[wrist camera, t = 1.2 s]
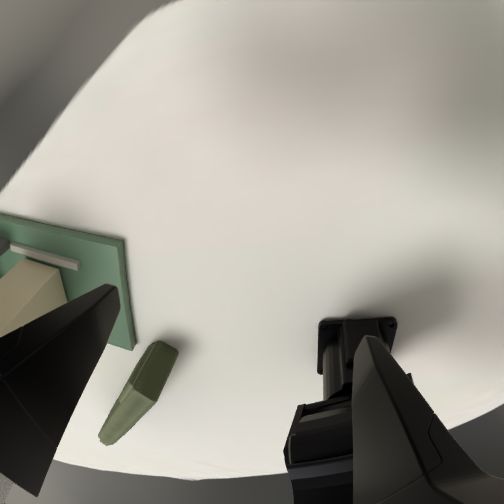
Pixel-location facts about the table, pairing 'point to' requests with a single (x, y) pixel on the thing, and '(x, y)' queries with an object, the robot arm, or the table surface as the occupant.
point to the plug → (28, 294)
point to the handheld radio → (139, 391)
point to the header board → (71, 263)
